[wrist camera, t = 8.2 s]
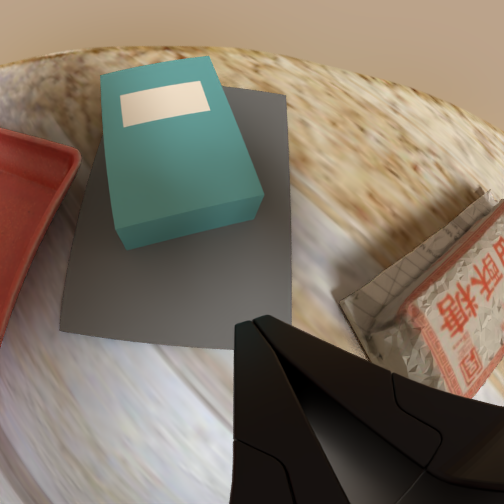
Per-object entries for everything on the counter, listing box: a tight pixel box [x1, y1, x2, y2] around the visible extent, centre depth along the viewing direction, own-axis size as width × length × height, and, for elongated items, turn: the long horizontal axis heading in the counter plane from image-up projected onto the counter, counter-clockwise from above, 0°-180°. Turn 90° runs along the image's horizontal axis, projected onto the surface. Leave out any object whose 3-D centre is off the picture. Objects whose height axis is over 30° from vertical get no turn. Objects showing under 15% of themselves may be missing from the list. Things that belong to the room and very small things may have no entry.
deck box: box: [100, 56, 265, 250], centre depth 16 cm, size 3×6×10 cm
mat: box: [59, 86, 292, 350], centre depth 17 cm, size 16×11×1 cm
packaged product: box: [340, 189, 504, 399], centre depth 16 cm, size 18×5×10 cm
